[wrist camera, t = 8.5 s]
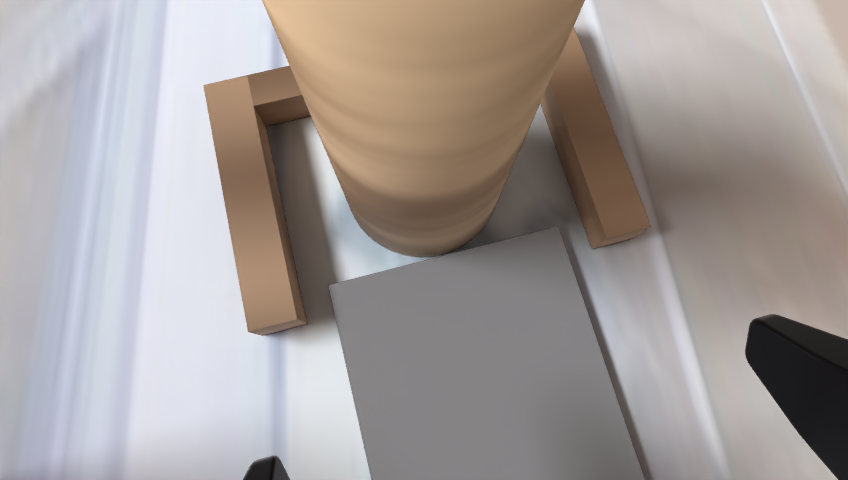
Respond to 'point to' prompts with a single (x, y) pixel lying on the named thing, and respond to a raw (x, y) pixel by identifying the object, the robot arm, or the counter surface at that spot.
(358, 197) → the pepper mill
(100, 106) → the counter surface
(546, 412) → the slate mat
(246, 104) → the walnut frame
